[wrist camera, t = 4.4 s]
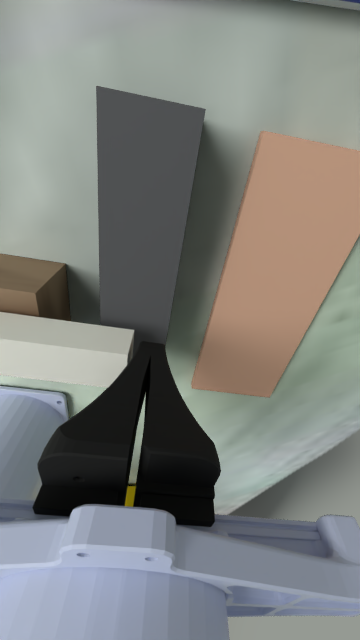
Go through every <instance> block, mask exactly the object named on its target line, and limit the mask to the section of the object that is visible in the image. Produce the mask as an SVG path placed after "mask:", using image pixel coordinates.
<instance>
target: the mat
mask: <svg viewBox="0 0 360 640" xmlns="http://www.w3.org/2000/svg"><path fill="white" fill-rule="evenodd" d="M359 235H360V151H357V150H353V149H348V148H343V147H338V146H334V145H329V144H324V143H319V142H314V141H310V140H305V139H300V138H295V137H291V136H286V135H281V134H276V133H272V132H267V131H261V132H260V136H259V139H258V143H257V147H256V150H255V154H254V158H253V161H252V165H251V168H250V172H249V176H248V179H247V183H246V187H245V190H244V194H243V197H242V201H241V205H240V208H239V212H238V216H237V219H236V223H235V227H234V230H233V234H232V237H231V241H230V245H229V248H228V252H227V256H226V259H225V263H224V266H223V270H222V274H221V277H220V281H219V285H218V288H217V292H216V296H215V299H214V303H213V306H212V310H211V314H210V317H209V321H208V325H207V328H206V332H205V336H204V339H203V343H202V346H201V350H200V354H199V357H198V361H197V365H196V368H195V372H194V375H193V379H192V383H191V385H192V388H193V389H201V390H210V391H218V392H227V393H235V394H244V395H252V396H260V397H270V396H271V394H272V392H273V390H274V388H275V387H276V385H277V383H278V381H279V379H280V378H281V376H282V374H283V372H284V370H285V369H286V367H287V365H288V363H289V361H290V360H291V358H292V356H293V354H294V352H295V350H296V349H297V347H298V345H299V343H300V341H301V340H302V338H303V336H304V334H305V332H306V331H307V329H308V327H309V325H310V323H311V322H312V320H313V318H314V316H315V314H316V313H317V311H318V309H319V307H320V305H321V304H322V302H323V300H324V298H325V296H326V294H327V293H328V291H329V289H330V287H331V285H332V284H333V282H334V280H335V278H336V276H337V275H338V273H339V271H340V269H341V267H342V266H343V264H344V262H345V260H346V258H347V257H348V255H349V253H350V251H351V249H352V248H353V246H354V244H355V242H356V240H357V238H358V237H359Z"/></svg>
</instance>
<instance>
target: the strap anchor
mask: <svg viewBox="0 0 360 640" xmlns="http://www.w3.org/2000/svg"><path fill="white" fill-rule="evenodd" d="M0 312H5V313H12V314H20V315H27V316H34V317H42V318H49V319H57V320H64V321H71V316H70V306H69V296H68V285H67V275H66V264H64V263H58V262H51V261H45V260H38V259H32V258H25V257H19V256H12V255H6V254H0Z"/></svg>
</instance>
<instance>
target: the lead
mask: <svg viewBox="0 0 360 640" xmlns="http://www.w3.org/2000/svg"><path fill="white" fill-rule="evenodd" d="M96 96H97V155H98V214H99V273H100V325H101V326H108V327H116V328H123V329H130V330H134V341H133V354H132V357H133V355H134V354H135V352H136V350H137V349H138V347H139V344H140V342H142V341H146V342H153V343H161V344H164V345H166V339H167V333H168V327H169V321H170V315H171V309H172V304H173V298H174V292H175V286H176V280H177V274H178V268H179V262H180V257H181V251H182V245H183V239H184V233H185V227H186V221H187V215H188V209H189V204H190V198H191V192H192V186H193V180H194V174H195V168H196V162H197V157H198V151H199V145H200V139H201V133H202V127H203V121H204V115H205V110H206V109H203V108H198V107H194V106H189V105H184V104H179V103H175V102H170V101H165V100H161V99H156V98H151V97H147V96H142V95H137V94H133V93H128V92H123V91H119V90H114V89H109V88H104V87H100V86H96Z"/></svg>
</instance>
